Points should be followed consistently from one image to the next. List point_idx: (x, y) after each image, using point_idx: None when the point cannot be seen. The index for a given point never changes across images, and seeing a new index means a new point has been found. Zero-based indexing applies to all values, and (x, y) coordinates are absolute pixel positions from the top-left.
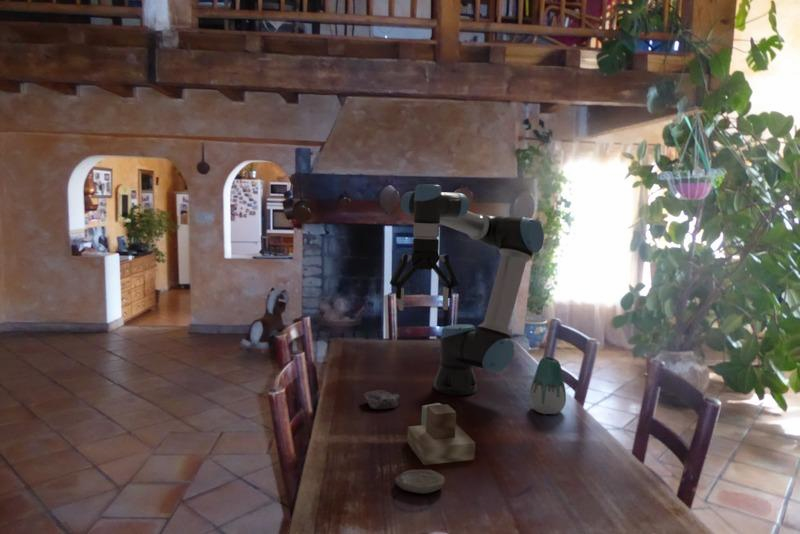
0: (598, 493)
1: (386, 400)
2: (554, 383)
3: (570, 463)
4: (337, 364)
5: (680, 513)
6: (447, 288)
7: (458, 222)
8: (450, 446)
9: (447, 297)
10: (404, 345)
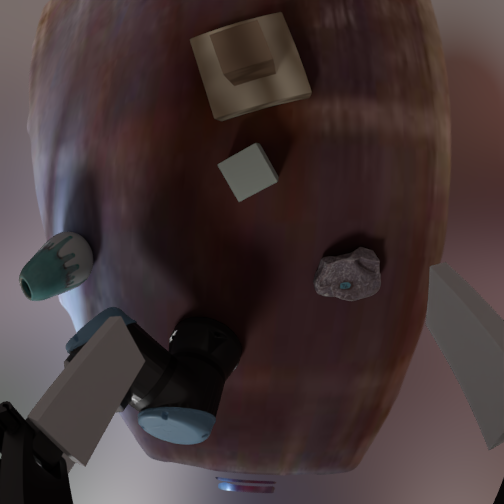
0: (82, 17)
1: (343, 257)
2: (40, 250)
3: (80, 74)
4: (377, 417)
5: (43, 17)
6: (32, 417)
7: None
8: (234, 24)
9: (68, 369)
10: (272, 465)
